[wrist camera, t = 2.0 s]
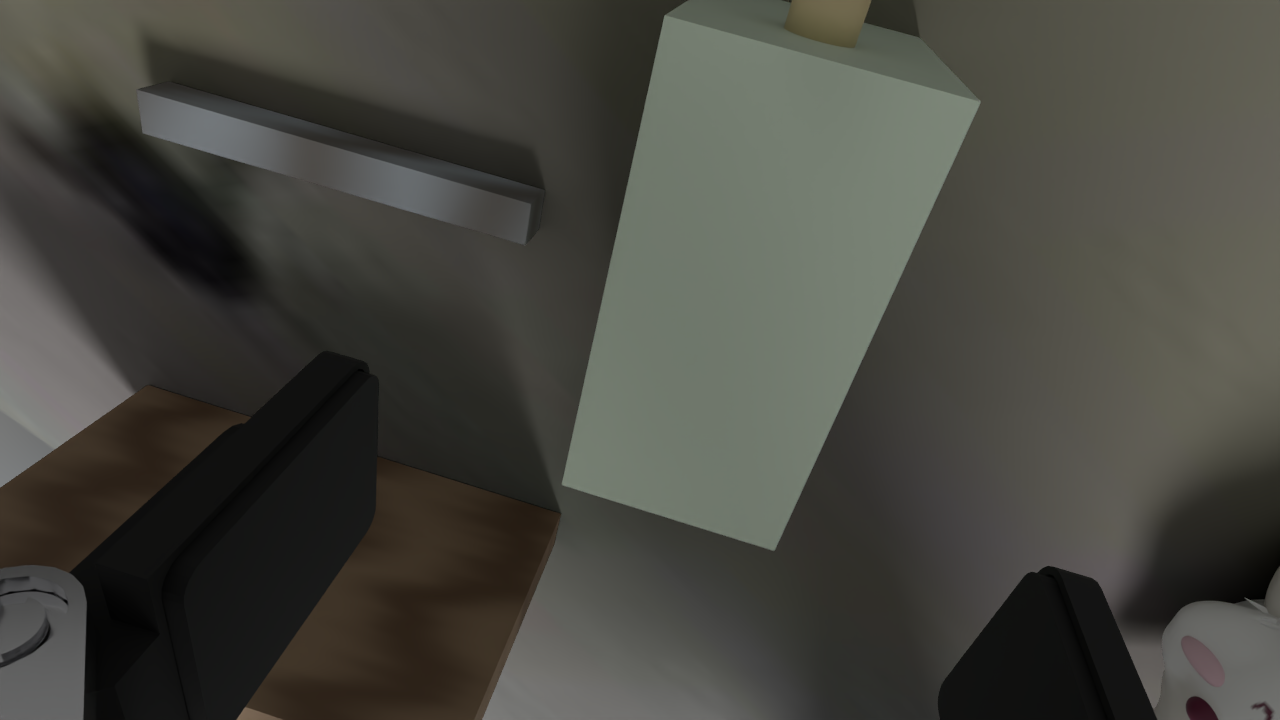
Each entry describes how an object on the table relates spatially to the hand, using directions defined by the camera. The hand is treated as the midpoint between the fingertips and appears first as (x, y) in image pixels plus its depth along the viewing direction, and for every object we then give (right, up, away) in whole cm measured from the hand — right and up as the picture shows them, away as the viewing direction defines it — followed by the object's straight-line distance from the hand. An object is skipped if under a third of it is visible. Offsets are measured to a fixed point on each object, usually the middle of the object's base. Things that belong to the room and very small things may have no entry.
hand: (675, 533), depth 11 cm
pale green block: (+3, +8, +14) cm, 16 cm away
